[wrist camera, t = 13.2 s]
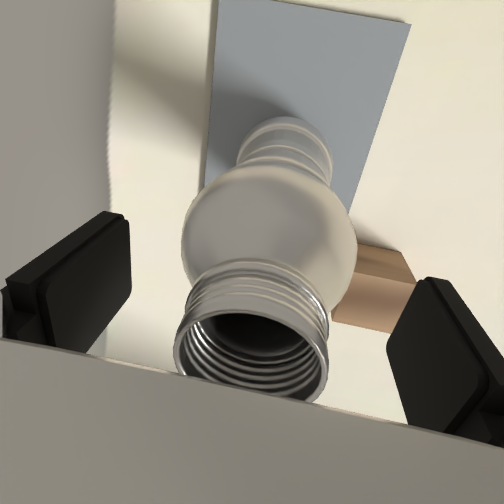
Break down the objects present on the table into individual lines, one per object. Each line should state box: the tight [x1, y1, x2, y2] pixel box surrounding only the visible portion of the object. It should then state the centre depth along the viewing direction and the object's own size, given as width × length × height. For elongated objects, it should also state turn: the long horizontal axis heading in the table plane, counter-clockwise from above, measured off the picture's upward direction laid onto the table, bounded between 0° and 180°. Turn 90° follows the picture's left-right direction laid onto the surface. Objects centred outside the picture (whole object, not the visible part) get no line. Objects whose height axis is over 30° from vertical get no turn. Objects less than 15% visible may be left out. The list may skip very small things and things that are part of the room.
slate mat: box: [204, 0, 412, 213], centre depth 25 cm, size 18×12×1 cm, turn 171°
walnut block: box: [331, 243, 417, 334], centre depth 27 cm, size 5×5×5 cm
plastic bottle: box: [173, 116, 358, 403], centre depth 16 cm, size 6×7×20 cm
